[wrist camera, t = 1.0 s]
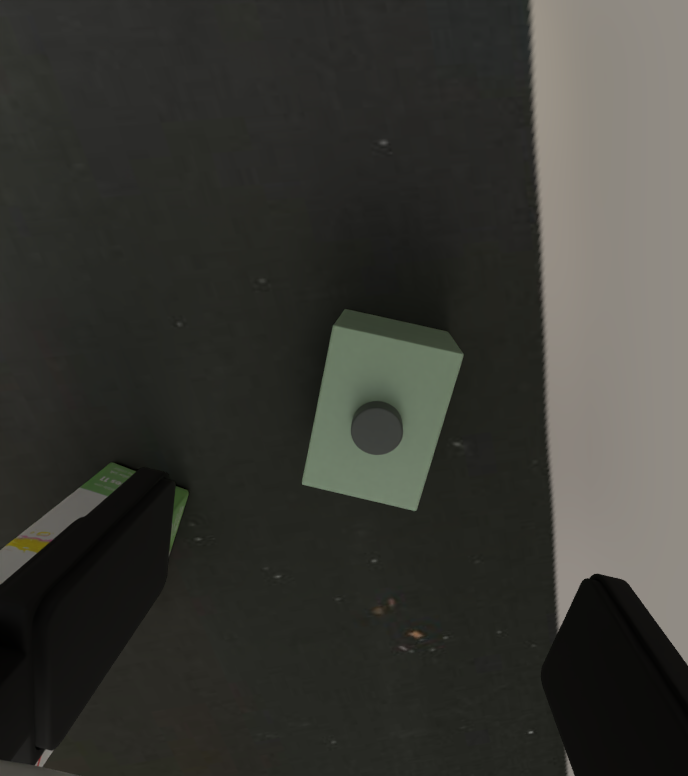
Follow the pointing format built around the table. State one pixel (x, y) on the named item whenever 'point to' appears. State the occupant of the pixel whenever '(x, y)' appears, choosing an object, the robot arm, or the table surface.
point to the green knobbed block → (381, 408)
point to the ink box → (66, 513)
